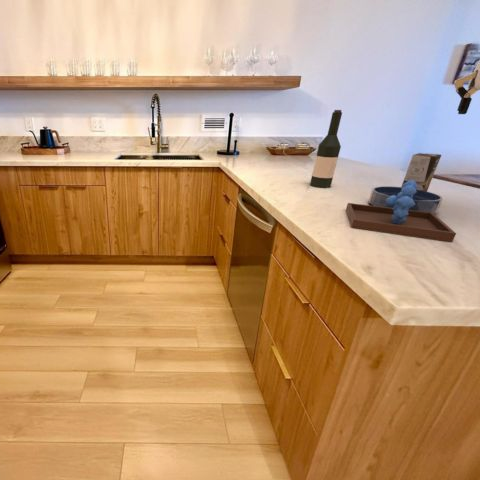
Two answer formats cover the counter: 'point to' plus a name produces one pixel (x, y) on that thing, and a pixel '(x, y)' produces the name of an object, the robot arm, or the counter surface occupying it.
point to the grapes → (402, 202)
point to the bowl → (421, 198)
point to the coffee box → (422, 170)
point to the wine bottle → (327, 155)
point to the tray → (413, 226)
